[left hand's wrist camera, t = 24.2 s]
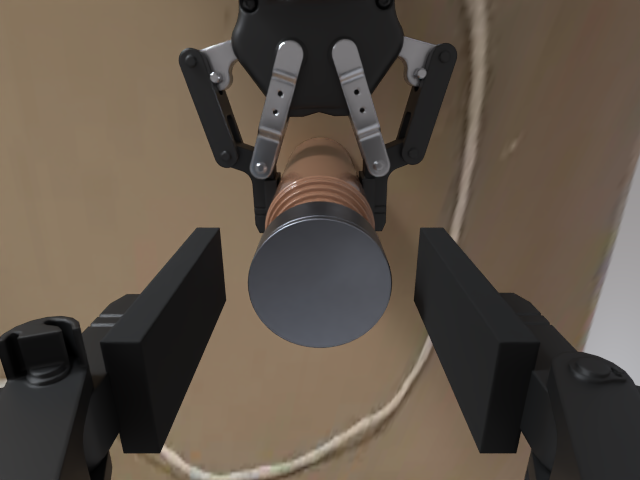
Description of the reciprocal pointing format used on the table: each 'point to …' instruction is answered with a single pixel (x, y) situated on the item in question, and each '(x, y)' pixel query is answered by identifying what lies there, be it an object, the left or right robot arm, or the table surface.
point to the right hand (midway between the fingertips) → (321, 236)
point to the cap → (319, 275)
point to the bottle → (319, 180)
